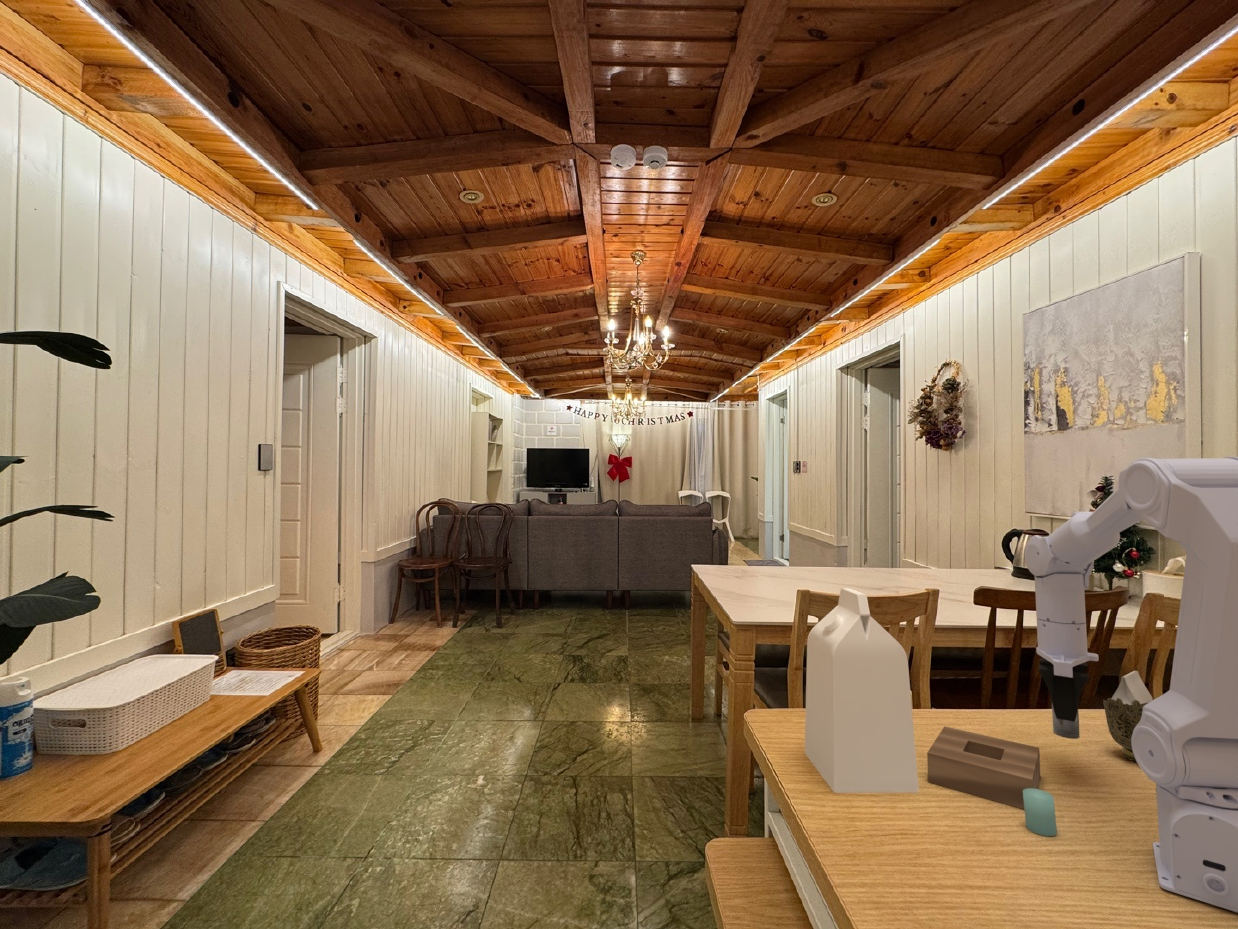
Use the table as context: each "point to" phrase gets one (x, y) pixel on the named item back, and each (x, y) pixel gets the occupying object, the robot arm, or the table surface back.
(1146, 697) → the grey wedge block
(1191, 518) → the robot arm
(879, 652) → the milk
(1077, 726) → the tall pin
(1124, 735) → the cup
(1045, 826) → the short pin
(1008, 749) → the hole block
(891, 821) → the table surface
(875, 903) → the table surface
